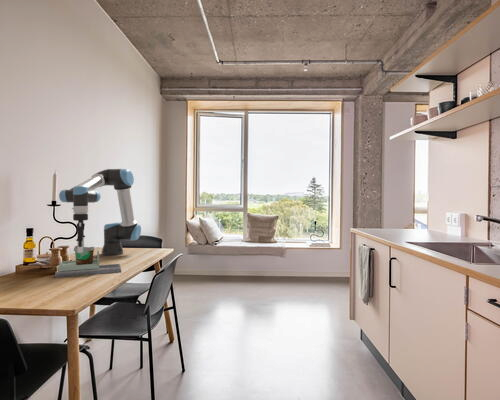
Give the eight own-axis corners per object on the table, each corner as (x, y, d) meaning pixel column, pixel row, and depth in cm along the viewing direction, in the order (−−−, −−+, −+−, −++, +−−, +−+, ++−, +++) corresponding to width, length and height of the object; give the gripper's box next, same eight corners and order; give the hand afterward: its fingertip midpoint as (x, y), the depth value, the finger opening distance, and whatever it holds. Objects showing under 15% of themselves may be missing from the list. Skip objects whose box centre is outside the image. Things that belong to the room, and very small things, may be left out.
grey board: (58, 270, 196) (58, 267, 196) (119, 266, 210) (119, 262, 210) (54, 277, 180) (54, 273, 180) (121, 272, 193) (121, 268, 193)
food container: (68, 264, 191) (68, 247, 191) (76, 262, 197) (76, 245, 197) (87, 266, 188) (87, 248, 188) (94, 264, 194) (94, 246, 194)
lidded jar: (61, 266, 209) (61, 251, 209) (49, 270, 198) (49, 254, 198) (44, 265, 210) (44, 250, 210) (32, 269, 199) (32, 253, 199)
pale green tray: (61, 266, 196) (61, 249, 196) (99, 264, 204) (99, 247, 204) (58, 272, 181) (58, 253, 181) (99, 269, 189) (99, 251, 189)
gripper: (74, 212, 202) (74, 247, 203) (71, 214, 180) (71, 254, 180) (88, 212, 205) (88, 247, 206) (87, 214, 183) (87, 253, 183)
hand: (80, 250), depth 193 cm, fingers open, 13 cm apart
